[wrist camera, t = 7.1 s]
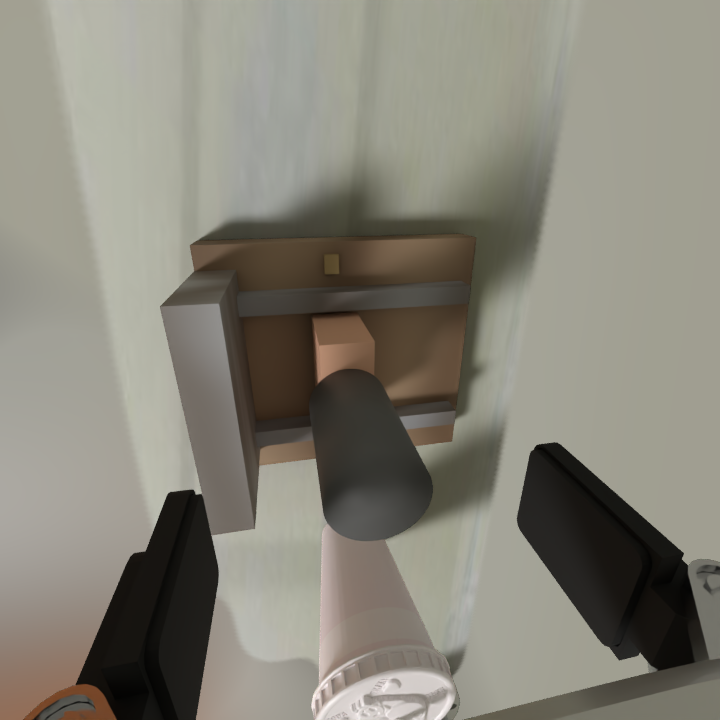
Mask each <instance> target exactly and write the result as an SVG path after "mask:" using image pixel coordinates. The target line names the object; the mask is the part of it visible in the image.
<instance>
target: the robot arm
mask: <svg viewBox="0 0 720 720" xmlns="http://www.w3.org/2000/svg"><path fill="white" fill-rule="evenodd" d="M517 523H518V527H519V529H520V531H521V532H522V534H523V535H524V536H525V538H526V539H527V541H528V542H529V543H530V545H531V546H532V548H533V549H534V550H535V552H536V553H537V554H538V556H539V557H540V559H541V560H542V561H543V563H544V564H545V566H546V567H547V568H548V570H549V571H550V572H551V574H552V575H553V577H554V578H555V579H556V581H557V582H558V584H559V585H560V586H561V588H562V589H563V591H564V592H565V593H566V595H567V596H568V597H569V599H570V600H571V602H572V603H573V604H574V606H575V607H576V609H577V610H578V611H579V613H580V614H581V615H582V617H583V618H584V620H585V621H586V622H587V624H588V625H589V627H590V628H591V629H592V631H593V632H594V634H595V635H596V636H597V638H598V639H599V640H600V641H601V643H602V644H604V645H605V646H608V647H610V649H611V650H612V651H613V653H614V654H615V656H616V657H617V658H618V659H619V660H622V659H627V658H631V657H635V656H638V655H639V653H641V654H642V655H643V656H644V658H645V659H646V660H647V661H648V669H649V673H647V674H643V675H639V676H635V677H631V678H627V679H623V680H619V681H615V682H611V683H607V684H603V685H599V686H595V687H591V688H587V689H583V690H579V691H575V692H571V693H567V694H563V695H559V696H555V697H551V698H547V699H543V700H539V701H535V702H531V703H527V704H524V705H519V706H516V707H511V708H507V709H504V710H500V711H496V712H492V713H488V714H484V715H480V716H476V717H472V718H468V719H464V720H720V562H717V561H713V560H709V559H698V560H695V561H692V562H691V563H690V564H689V566H688V565H687V564H686V563H685V562H684V561H683V560H682V557H683V555H684V553H683V552H682V551H681V550H679V549H678V548H677V547H676V546H675V545H674V544H672V542H670V541H669V540H668V539H667V538H666V537H665V536H664V535H662V534H661V533H660V532H659V531H658V530H657V529H656V528H654V527H653V526H652V525H651V524H650V523H649V522H648V521H647V520H645V519H644V518H643V517H642V516H641V515H640V514H639V513H638V512H636V511H635V510H634V509H633V508H632V507H631V506H629V505H628V504H627V503H626V502H625V501H624V500H623V499H622V498H620V497H619V496H618V495H617V494H616V493H615V492H614V491H613V490H611V489H610V488H609V487H608V486H607V485H606V484H605V483H603V482H602V481H601V480H600V479H599V478H598V477H597V476H595V475H594V474H593V473H592V472H591V471H590V470H589V469H588V468H586V467H585V466H584V465H583V464H582V463H581V462H580V461H579V460H577V459H576V458H575V457H574V456H573V455H572V454H570V453H569V452H568V451H567V450H566V449H565V448H564V447H562V445H560V444H558V443H555V442H554V443H547V444H539V445H536V447H535V448H534V450H533V451H531V453H530V456H529V461H528V466H527V471H526V476H525V481H524V486H523V491H522V496H521V501H520V506H519V511H518V516H517ZM218 577H219V572H218V564H217V559H216V555H215V550H214V545H213V541H212V536H211V531H210V527H209V522H208V518H207V513H206V508H205V504H204V499H203V496H202V494H198V495H195V492H194V490H184V491H176V492H170V493H168V495H167V497H166V500H165V502H164V505H163V508H162V510H161V513H160V515H159V518H158V521H157V523H156V526H155V528H154V531H153V534H152V536H151V539H150V542H149V544H148V547H147V550H146V551H145V552H139V553H134V554H133V555H132V556H131V557H130V559H129V561H128V562H127V564H126V566H125V569H124V571H123V574H122V576H121V578H120V581H119V583H118V586H117V588H116V590H115V593H114V595H113V597H112V600H111V602H110V605H109V607H108V609H107V612H106V614H105V616H104V619H103V621H102V624H101V626H100V628H99V631H98V633H97V635H96V638H95V640H94V643H93V645H92V648H91V650H90V652H89V654H88V657H87V659H86V661H85V664H84V666H83V669H82V671H81V673H80V676H79V678H78V681H77V683H76V685H74V686H71V687H68V688H65V689H63V690H60V691H58V692H56V693H55V694H53V695H52V696H50V697H48V698H47V699H45V700H44V701H42V702H41V703H40V704H39V705H38V706H37V707H35V708H34V709H33V710H32V711H31V712H30V713H29V714H28V715H27V716H26V717H25V718H24V719H23V720H196V715H197V709H198V702H199V696H200V690H201V684H202V678H203V672H204V666H205V659H206V654H207V647H208V641H209V635H210V629H211V623H212V617H213V611H214V604H215V598H216V592H217V586H218ZM459 705H460V698H459V695H458V692H457V689H456V697H455V700H454V702H453V705H452V707H451V709H450V710H449V711H448V713H447V714H446V715H445V716H444V717H443V719H442V720H453V719H454V717H455V716H456V714H457V712H458V708H459Z"/></svg>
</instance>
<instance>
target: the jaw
mask: <svg viewBox="0 0 720 720" xmlns="http://www.w3.org/2000/svg"><path fill="white" fill-rule="evenodd" d="M311 317H312V334H313V352H314V370H315V388H314V390H313V392H312V394H311V397H310V401H309V411H310V419H311V426H312V433H313V440H314V448H315V455H316V462H317V470H318V477H319V484H320V491H321V499H322V506H323V513H324V516H325V519H326V521H327V523H328V524H329V526H330V527H331V528H332V529H333V530H334V531H335V532H337V533H338V534H340V535H341V536H344V537H346V538H349V539H352V540H357V541H377V540H382V539H386V538H389V537H392V536H395V535H397V534H399V533H401V532H403V531H405V530H406V529H408V528H409V527H411V526H412V525H413V524H415V523H416V522H417V521H418V520H419V519H420V518H421V516H422V515H423V514H424V513H425V511H426V510H427V508H428V506H429V504H430V501H431V498H432V493H433V485H432V480H431V477H430V475H429V473H428V471H427V469H426V467H425V465H424V463H423V461H422V459H421V457H420V456H419V454H418V452H417V450H416V448H415V446H414V444H413V442H412V440H411V438H410V436H409V435H408V433H407V431H406V429H405V427H404V425H403V423H402V421H401V419H400V417H399V415H398V413H397V412H396V410H395V408H394V406H393V404H392V402H391V400H390V398H389V396H388V394H387V392H386V391H385V389H384V387H383V385H382V383H381V382H380V381H379V380H378V379H377V378H376V377H375V376H374V362H375V341H374V339H373V338H372V336H371V334H370V333H369V331H368V330H367V328H366V326H365V325H364V323H363V322H362V320H361V318H360V317H359V315H358V313H357V312H348V313H331V314H315V315H311Z"/></svg>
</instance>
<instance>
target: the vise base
mask: <svg viewBox="0 0 720 720" xmlns="http://www.w3.org/2000/svg"><path fill="white" fill-rule="evenodd" d="M475 245H476V237H472V236H468V235H464V234H435V235H395V236H356V237H316V238H277V239H237V240H198V241H196V242H194V243H193V244H191V245H190V249H191V255H192V260H193V266H194V272H193V273H192V274H191V275H190V276H189V277H188V278H187V279H186V280H185V282H184V283H183V284H182V285H181V286H180V287H179V288H178V289H177V290H176V291H175V292H174V293H173V294H172V295H171V296H170V297H169V298H168V299H167V300H166V301H165V302H164V303H163V304H162V305H161V306H160V309H161V314H162V318H163V322H164V327H165V331H166V336H167V340H168V345H169V349H170V353H171V358H172V362H173V367H174V371H175V376H176V380H177V384H178V389H179V393H180V398H181V402H182V406H183V411H184V415H185V420H186V424H187V429H188V433H189V437H190V442H191V446H192V451H193V455H194V459H195V464H196V468H197V473H198V477H199V482H200V486H201V490H202V495H203V499H204V504H205V508H206V513H207V517H208V521H209V526H210V530H211V535H217V534H223V533H230V532H236V531H243V530H249V529H255V520H256V505H257V490H258V476H259V465H267V464H275V463H283V462H291V461H299V460H307V459H315V458H316V455H315V448H314V440H313V433H312V426H311V419H310V411H309V401H310V397H311V394H312V392H313V390H314V388H315V370H314V352H313V334H312V317H311V315H315V314H331V313H348V312H357V313H358V315H359V317H360V318H361V320H362V322H363V323H364V325H365V326H366V328H367V330H368V331H369V333H370V334H371V336H372V338H373V339H374V341H375V362H374V376H375V377H376V378H377V379H378V380H379V381H380V382H381V383H382V385H383V387H384V389H385V391H386V392H387V394H388V396H389V398H390V400H391V402H392V404H393V406H394V408H395V410H396V412H397V413H398V415H399V417H400V419H401V421H402V423H403V425H404V427H405V429H406V431H407V433H408V435H409V436H410V438H411V440H412V442H413V444H414V446H419V445H427V444H435V443H443V442H451V441H452V437H453V429H454V423H455V414H456V404H457V395H458V387H459V379H460V370H461V362H462V353H463V345H464V337H465V328H466V320H467V312H468V304H469V297H470V289H471V278H472V270H473V261H474V253H475Z"/></svg>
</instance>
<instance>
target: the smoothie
mask: <svg viewBox="0 0 720 720" xmlns="http://www.w3.org/2000/svg"><path fill="white" fill-rule="evenodd" d="M455 697H456V686H455V684H454V681H453V678H452V676H451V673H450V665H449V663H448V661H447V659H446V657H445V656H444V655H442V654H441V653H440V652H438V651H437V650H436V649H435V648H434V646H433V644H432V642H431V639H430V637H429V635H428V633H427V630H426V628H425V626H424V623H423V621H422V620H421V618H420V615H419V613H418V611H417V609H416V607H415V605H414V602H413V600H412V598H411V596H410V594H409V592H408V589H407V587H406V585H405V583H404V581H403V578H402V576H401V574H400V572H399V570H398V568H397V565H396V563H395V561H394V559H393V557H392V555H391V552H390V550H389V548H388V546H387V544H386V542H385V539H382V540H377V541H357V540H352V539H349V538H346V537H344V536H341V535H340V534H338V533H337V532H335V531H334V530H333V529H332V528H331V527H330V526H329V524H328V523H327V524H326V526H325V527H324V529H323V533H322V563H321V610H320V651H319V686H318V687H317V689H316V690H315V692H314V694H313V699H312V703H311V707H312V710H313V714H314V720H442V719H443V717H444V716H445V715H446V714H447V713H448V711H449V710H450V709H451V707H452V705H453V702H454V700H455Z"/></svg>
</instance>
